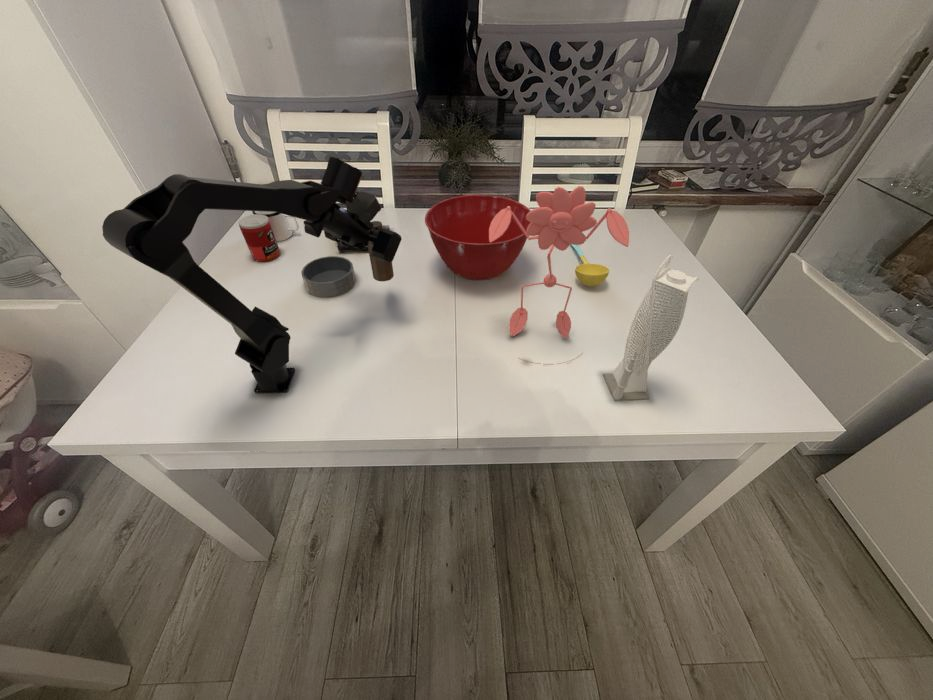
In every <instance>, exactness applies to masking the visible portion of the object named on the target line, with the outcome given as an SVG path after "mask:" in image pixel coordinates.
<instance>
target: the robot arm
mask: <svg viewBox="0 0 933 700" xmlns="http://www.w3.org/2000/svg"><path fill="white" fill-rule="evenodd" d="M363 175H364V174H363V172H362V171H361V170H360V168H358V167H355V166H353V165H351V164H349V163H347V162H345V161H343V160H341V159H340V158H339V157H337V156H336V157H335V156H333V155H331V156H329V159H328V161H327V164H326V169H325V171H324V174H323V176H322V178H321V180H320V183H319V182H316V181H313V180H307V181H302V182H300V181H296V180H293V179H284V180H273V181H271V182H269V183H262V184H261V183H250V182H242V181H233V180H223V179H222V180H221V179H214V178H213V179H212V178H202V177H194V176H192V177H191V176H187V175H184V174H182V173H181V174H180V173H175V174H172V175H169V176H168V177H166V178H165V179H164V180H163V181H162V182H161V183H159V184H158V185H157V186H156V187H154V188H152V189H150V190H149V191H147V192H145V193H143V194H141V195H139V196H137V197H135V198H134V199H132V201H130V202H129V203H128V204H127V205H126V206H125V207H124V208H122V209H116V210H114V211H113V212H111V213H109V214H108V215H107V216H106V217H105V218H104V220H103V223H102V227H101V228H102V229H101V230H102V237H103V238H104V240H105V241H106V242H107V243H108V244H109V245H110V246H111V247H113V248H115V249H116V250H118V251H119V252H122V253H123V254H125V255H126V256H128V257H130V258H131V259H134V260H135V261H137V262H138V263H141V264H143V265H144V266H146V267H148V268H150V269H152V270H154V271H156V272H158V273H159V274H162V275H164V276H166V277H168V278H170V279H171V280H172V281H173V282H174V283H176V284H177V285H179V286H180V287H181V288H182V289H184V290H185V291H187V293H189V294H191V295H192V296H193V297H195V298H196V299H197V300H198V301H200V302H201V303H202V304H203V305H205V306H206V307H208V308H209V309H210V310H211V311H213V312H214V313H216V314H217V315H218V316H220V318H222V319H224V320H225V321H226V322H227V323H229V324H230V325H231V326H232V328H233V330H234V332H235V334H236V335H237V336H238V338H240V339H239V341H238V344H237V346H236V348H235V352H234V355H236V356H237V357H238V358H240V359H241V360H243V361H244V362H246V363H248V364H249V367H250V370H251V371H250V373H251V375H252V376H253V379H254V380H255V381H256V384H255V387H254V390H253V391H254V392H253V393H254V394H285V393H288V391H289V389H290V386H291V383H292V381H293V379H294V376H295V374H296V368H295V367H288V366H287V364H288V363H289V362H290V341H291V338H292V337H291V335H290V333H289V332H288V331H290V329H289V327H287V326H285V325H283V324H282V323H281V322H280V321H279V319H278V318H277V317H276V316H274V315H273V314H270V313H269V312H267V311H265V310H263V309H261V308H259V307H257V306H254V307H253V309H252V310H251V309H250V308H249V307H247V306H246V305H245V304H244V303H243V302H242V301H240V300H239V298H237V297H236V296H235V295H233V294H232V293H231V292H230V291H229V290H228V289H227V288H225V287H224V286H223V285H222V284H221V283H220V282H218V281H217V280H216V279H215V278H213V277H212V276H211V275H210V274H209V273H208V272H206V270H204V268H202V267H201V266H200V265H198V263H197V262H195V260H194V257H193V256H192V254H191V252H190V250H189V248H188V247H187V246H186V244H185V243H184V242H185V240H186V239H187V238H188V237H189V236H190V235H191V234H192V232H193V229H194V227H195V225H196V223H197V221H198V218H199V216H200V215H201V214H202V213H203V212H204V211H205V210H217V211H219V210H220V211H221V210H222V211H244V212H245V211H246V212H247V211H248V212H252V211H267V212H278V213H282V214H285V215H289V216H292V217H291V218H293V217H296V219H300V220H303V221H302V222H303V225H304V226H303V227H304V228H303V229H304V233H306V234H307V235H310V236H312V237H315V238H320V237H321V235H322V232H323V233H324V237H325V238H326V239H328V240H330V241H332V242H334V243H336V244H337V243H339V242H340V240H341V241H342V244H343V245H345V246H348V247H353V248H358V249H360V250H362V248H368V246H369V242H371V243H372V245H373V248H372V255H371V256H373V257H376V258H378V259H381V260H383V261H386V262H388V263H390V262H392V263H393V262H394V259H395V257H396V254H397V252H398V250H399V247H400V244H401V242H402V235H400V234H399V233H398V232H396V231H394V230H391V229H390V230H388V229H385V228H383V229H381V230H377V231H376V232H373V231H371V230H370V229H372V227H373V225H374V224H373V223H372V222H373V221H374V218H375V217H376V216H377V215H378V214H379V212H381V210H382V206H381V203H380V201H379V200H378V198H377V196H376V195H375V194H373V193H370V192H367V191H358V188H359V185H360V182H361V180H362V178H363ZM338 203H339V204H342V205H345V206H346V209H345V208H343V206H341V205H339V204H338ZM371 236H373V237H371ZM375 236H376V237H375ZM367 241H369V242H367Z"/></svg>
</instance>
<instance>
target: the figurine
mask: <svg viewBox="0 0 933 700" xmlns="http://www.w3.org/2000/svg"><path fill="white" fill-rule="evenodd" d="M586 197H587V193H586V189H585V188H584V186H581V185H578V186H577V187H575V188H573V190H571V192H569V191H568V190H567V189H565V188H564V187H562V186H557V187H556V188H554V191H553V192H551V191H540V192H537V193H536V195H535V200H536V203H537V205H538V207H536V208H533V209H531V210H530V212H529V213H528V214H527V215H526V220H528V221H529V222H531V223H530V224H529V225H528V227H527V230H526V231H525V230H524V228H523V227H522V225H521V224H520V222H519V221H518V219H517V218H516V216H515V215H514V213H513V212H512V210H511V207H510V206H507V208H505V209H502V210H501V211H500V212H498V213H497V214H496V215H495V217H494V218H493V220H492V221H491V224H490V228H489V241H490V243H491V242H493V241H495V240H496V239H498V238H499V237H501V236H502V235H503V234H504V233H505V231H506V230H507V229H508V227H509V225H510V223H511V216H512V217H513V218H514V220H515V221H516V223H517V224H518V226H519V227H520V229H521V230H522V232H523V233H524V235H525V236H526V238H527V240H528V241H532V240H537V244H538V248H539V249H540V250H541V251H546V250H548V249H549V251H548V252H547V257H546V258H547V266H548V272H549V274H547V275H545V276H544V278H543V281H542V282H535V283H527V284H522V285H520V286H521V288H520V289H521V290H520V295H521V296H520V307H518V308H516V309H515V310H514V311H513V313H512V314H511V316H510V318H509V323H508V328H509V333H510V336H511V337H514V336H517V334H519V333H520V332H522V330H523V329H524V328H525V327H526V325H527V322H528V315H529V314H528V313H529V312H528V310H527V309H526V307H523V306H524V305H523V304H524V287H530V286H538V285H540V286H541V285H544V286H545V287H547V288H554V287H555V286H559V287H562V288H566V289H569V291H568V294H567V298H566V302H565V305H564V308H563V310H560V311H559V312H558V313H557V314H556V320H555V326H556V329H557V332H558V333H559V334H560V335H561V336H562V337H563V338H564V339H565V340H568V338H569V335H570V332H571V329H572V319H571V317H570V316H569V314H568V312H567V311H566V310H567V306H568V304H569V300H570V298H571V297H570V296H571V294H572V290H573V287H572V286H569V285H565V284H562V283H558V282H557V281H558V280H557V277H556V276H555V275H554V274H553V273H552V262H551V261H552V260H551V255H552V252H553V251H554V248H556V249H557V250H559V251H562V252H563V251H566V250H567V249H568V248H569V246H570V245H571V244H573V245H577V246H581V245H583V244H585V242H586V241H587V240H588V239H589V238H590V237H591V236H592V234H594V232H595V231H596V230H597V229H598V228H599V226H600V225H601V224H602V223H603V221H604V220H606V228H607V229H608V232H609V234H610V236H611V237H612V239H614V240H615V241H616V242H617V243H619V244H620V245H622V246H624V247H626V248H628V247H629V246H630V245H629V244H630V230H629V227H628V223H627V221H626V220H625V218H624V216H622V215H621V214H620V212H618V211H617V210H612V208H611V207H608V208H607V209H606V211H605V213H604V214H603V216H602V217H601V218H600V219H599V220H598V221H597V219H596V218H595V217H593V214H594V212H595V210H596V203H595V202H593V201H591V202H586ZM590 229H591V230H590ZM586 231H589V232H588V234H587V235H586V234H584V232H586ZM582 354H583V352H582V353H581V355H582ZM579 357H580V355H577V358H579ZM518 359H519V360H522V361H524V362H528V363H532V364H534V362H532V361H529V360H525V359H522V358H520V357H518ZM573 360H574V361H575V358H573V359H569V360H568V361H564V362H563V364H565V363H566V364H567V365H568V364H571V363H572V362H571V361H573ZM535 364H537V365H540V363H539V362H535ZM560 364H562V362H559V363H558V365H560ZM551 365H553V363H544V366H551Z"/></svg>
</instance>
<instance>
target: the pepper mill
mask: <svg viewBox="0 0 933 700" xmlns="http://www.w3.org/2000/svg"><path fill="white" fill-rule="evenodd" d="M371 222H372V223H373V224H374V225H373V227H372V229H370V230H371V231H373V232H376V231H377V230H381V229H383V228H385V229H387V228H386V227H385V226H382V225H383V222H381V221H379V220H372V221H371ZM371 237H373V236H371ZM375 237H376V236H375ZM367 242H369V241H367ZM372 248H373V245H372V243H371V242H369V246H368V251H367V252H368V255H369V261H370V266H371V267H370V268H371V272H372V277H373V279H374V280H375V281H377V282H387V281H390V280H392V279H393V278H394V276H395V274H394V266H393V261H392V262H390V263H388V262H386V261H383V260H381V259H378V258H376V257H373V256H371V255H372Z"/></svg>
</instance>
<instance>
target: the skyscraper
mask: <svg viewBox="0 0 933 700" xmlns="http://www.w3.org/2000/svg"><path fill="white" fill-rule="evenodd" d="M672 258H673V253H671V254H669V255H667V257H666V258H665V259H664V260H663V261H662V263H661V264H660V266H659V267H658V269H657V270H656V272H655V274H654V276H653V277H652V281H651V286H650V287H649V289H648V290H647V292H646V293H645V295H644V297H643V298H642V300H641V302H640V304H639V306H638V307H637V310H636V312H635V314H634V316H633V319H632V322H631V325H630V326H629V327H630V328H629V331H628V335H627V338H626V342H625V346H624V347H625V348H624V353H623V357H622V359H621V360H620V361H619V362H618V364H617V366H616V367H615V368H614V370H612V372H611V373H603V374H602V377H603V379H604V381H605V384H606V386H607V388H608V390H609V393H610V395H611V398H612V400H613V402H625V401H627V402H629V401H648V400H650V397H649V395H648V393H647V384H648V372H649V368H650V367H651V366H650V365H651V364H652V362H653V361H654V360H655V359H657V358H658V356H660V355H661V354H663V352H664V351H665V350H666V349H667V348H668V346H669V345H670V344H671V342H672V341H673V340H674V338H675V337H676V335H677V333H678V331H679V329H680V328H681V324H682V322H683V319H684V314H685V311H686V307H687V302H688V297H689V292H690V291H691V289H692V288H693V286H694V285H695V284H696V282H697V283H698V281H699V279H700V275H697V276H695V277H693V276H690V275H687V274H686V273H685V272H684V271H681V270H678V269H671V268H668V267H669V265H670V263H671V260H672Z"/></svg>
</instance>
